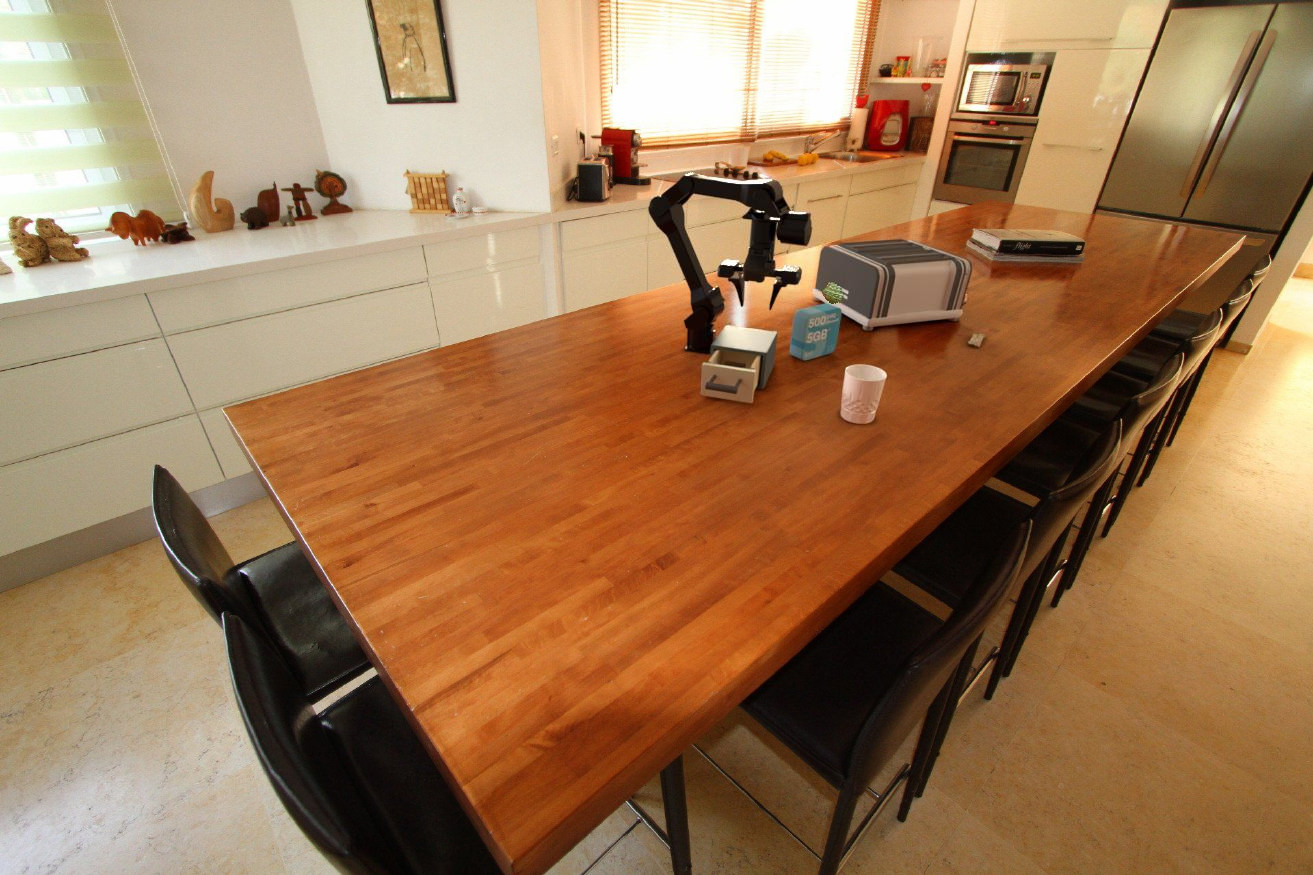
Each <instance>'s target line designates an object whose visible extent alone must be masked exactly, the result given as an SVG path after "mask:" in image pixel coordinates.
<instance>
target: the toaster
mask: <svg viewBox="0 0 1313 875" xmlns="http://www.w3.org/2000/svg"><path fill="white" fill-rule="evenodd" d="M966 273H967V275H966ZM972 273H973V265H972V262H971V260H969V259H967V258H966V257H962V256H960V255H956V254H953V253H951V252H947V251H946V250H942V249H939V248H936V247H933V246H931V245H927V244H924V243H922V242H919V241H917V240H916V241H915V240H913V239H912V240H911V239H910V240H906V239H903V238H893V239H882V240H881V239H880V240H866V241H865V240H864V241H852V242H850V241H848V242H840V243H838V244H832V245H824V246H823V247H822V249H821V250H820V253H819V258H818V266H817V273H816V279H815V286H814V288H813V289H812V295H813V298H814V301H815V302H823V303H824V304H825V303H827V304H830V305H833V306H835V307H838V308H840V309H841V310H842V314H843V315H845V316H847V317H848V318H850V319H852V320H854V321H855V322H857V323H858V324H860V325H862V329H863V330H864V331H866V332H867V331H868V332H869V331H873V329H874V327H882V326H893V325H902V324H910V323H921V322H929V321H938V320H948V321H950V322H958V320H959V318H960V317H962V315H963V313H964V310H963V305H964V301H965V298H966V294H967V291H968V287H969V283H970V280H971V276H972ZM829 282H830V283H831V282H834V283H835V284H837V286H840V287H841V288H842V290H843V291H840V293H842V294H844V297H843V298H842V301H841V303H839V302H838V303H836V304H835V303H834V304H831V303H829V301H827V300H826V299H825V297H824V296H823V294H822V291H823V290H824V289H825V288H826V287H827V285H828V283H829Z"/></svg>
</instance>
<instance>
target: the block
mask: <svg viewBox="0 0 1313 875" xmlns="http://www.w3.org/2000/svg"><path fill="white" fill-rule="evenodd" d="M724 365H725V366H732V367H738V368H745V367H746V364H744V363H737V362H730V361H726V362H725V363H724Z"/></svg>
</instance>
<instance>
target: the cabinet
mask: <svg viewBox="0 0 1313 875" xmlns="http://www.w3.org/2000/svg"><path fill="white" fill-rule="evenodd" d="M778 334H779V332H778V331H775V330H767V329H760V328H751V327H743V326H737V325H727V324H726V325H725V326H724V327H723V329H722V330H721V331H720V333H719V334H718V335H717V337H716V338H715V341H714V342H713V343H712V345H711V351H710V355H709V356H710V357H709V359H710V358H711V357H712V356H713V354H714V353H715V351H716V350H717V349H721V350H728V351H735V352H743V353H750V354H757V355H763V360H762V369H761V379H760V381H759V383H758V385H757V387H756V389H755V390H760V391H761V390H762V391H763V390H764V387H765V386H766V384H767V382H768V380H769V377H770V375H771V373H772V371H773V369H774V366H775V359H776V350H777V341H778Z"/></svg>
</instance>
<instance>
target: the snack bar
mask: <svg viewBox="0 0 1313 875" xmlns="http://www.w3.org/2000/svg"><path fill="white" fill-rule="evenodd" d="M985 338H986V334H985V333H973V334H972V336H971V338H970V340H969V341H968V342H967V344H969V345H971V346H973V347H975V348H980V347H981V344H982V342H983V340H984V339H985Z"/></svg>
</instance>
